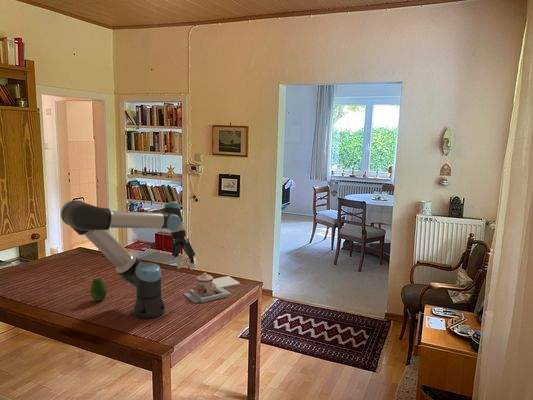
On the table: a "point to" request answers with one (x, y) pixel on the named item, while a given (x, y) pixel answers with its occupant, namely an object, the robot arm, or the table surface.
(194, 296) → the cradle
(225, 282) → the mat
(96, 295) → the avocado
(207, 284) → the teacup with lid
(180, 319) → the table surface
